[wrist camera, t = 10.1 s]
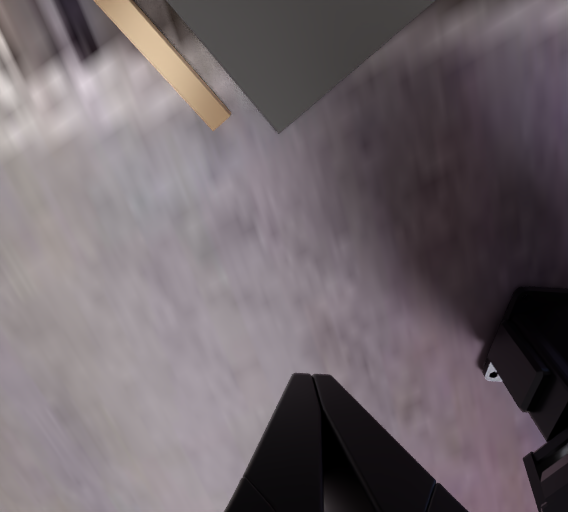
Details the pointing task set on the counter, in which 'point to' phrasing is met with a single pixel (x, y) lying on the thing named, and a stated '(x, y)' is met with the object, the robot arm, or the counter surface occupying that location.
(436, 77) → the counter surface
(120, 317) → the counter surface
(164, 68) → the track
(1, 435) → the counter surface
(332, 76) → the plate
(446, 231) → the counter surface
